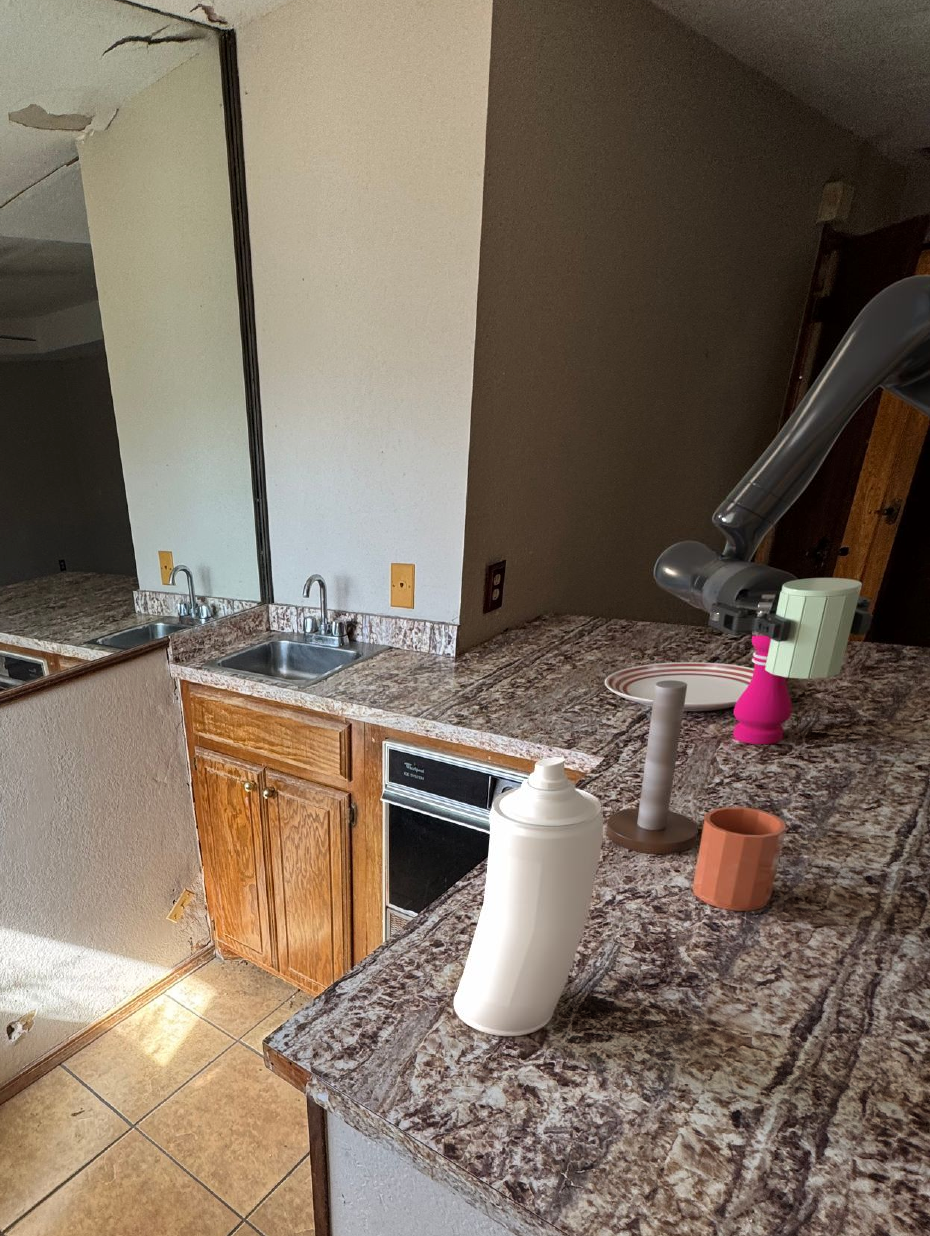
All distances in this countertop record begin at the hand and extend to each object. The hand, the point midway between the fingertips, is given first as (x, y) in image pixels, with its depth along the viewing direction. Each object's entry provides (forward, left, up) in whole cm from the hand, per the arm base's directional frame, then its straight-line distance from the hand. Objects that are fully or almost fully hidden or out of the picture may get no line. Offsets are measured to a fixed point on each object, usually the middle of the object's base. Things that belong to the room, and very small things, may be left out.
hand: (825, 628), depth 75 cm
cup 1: (+11, +3, -27) cm, 29 cm away
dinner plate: (-39, -45, -27) cm, 65 cm away
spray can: (+42, +6, -27) cm, 50 cm away
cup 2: (-1, -2, -5) cm, 6 cm away
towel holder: (+7, -11, -27) cm, 30 cm away
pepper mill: (-30, -25, -27) cm, 47 cm away
